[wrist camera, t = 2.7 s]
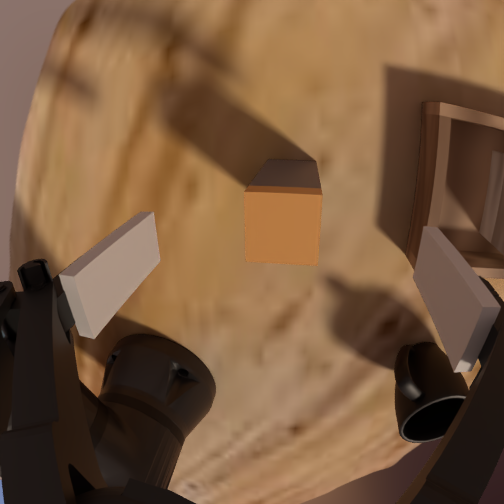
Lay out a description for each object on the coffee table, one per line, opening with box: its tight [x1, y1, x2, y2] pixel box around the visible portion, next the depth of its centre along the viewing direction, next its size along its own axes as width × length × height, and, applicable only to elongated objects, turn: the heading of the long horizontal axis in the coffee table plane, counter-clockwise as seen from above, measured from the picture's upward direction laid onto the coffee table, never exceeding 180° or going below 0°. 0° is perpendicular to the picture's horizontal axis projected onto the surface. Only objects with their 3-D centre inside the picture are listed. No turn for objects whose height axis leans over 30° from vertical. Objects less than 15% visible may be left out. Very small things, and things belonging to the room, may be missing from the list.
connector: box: [244, 159, 322, 266], centre depth 22 cm, size 4×4×11 cm
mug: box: [394, 342, 469, 443], centre depth 28 cm, size 8×12×10 cm
